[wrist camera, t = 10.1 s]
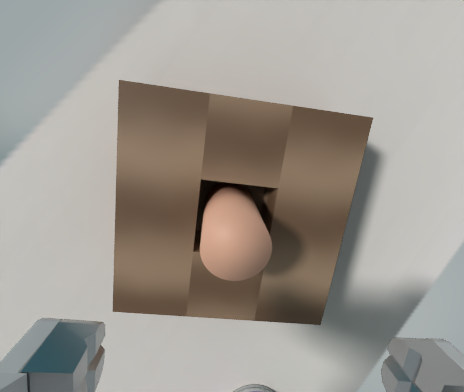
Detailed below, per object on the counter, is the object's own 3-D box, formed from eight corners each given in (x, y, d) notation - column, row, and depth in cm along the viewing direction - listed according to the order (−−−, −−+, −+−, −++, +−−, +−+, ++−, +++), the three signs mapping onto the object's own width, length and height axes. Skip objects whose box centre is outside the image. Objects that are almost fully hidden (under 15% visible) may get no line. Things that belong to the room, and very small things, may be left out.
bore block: (298, 283, 24) (320, 324, 19) (134, 270, 22) (112, 311, 18) (334, 118, 20) (372, 117, 16) (142, 90, 19) (119, 79, 14)
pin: (247, 229, 21) (263, 285, 14) (200, 222, 20) (194, 276, 13) (257, 185, 20) (279, 221, 13) (209, 176, 19) (206, 209, 12)
